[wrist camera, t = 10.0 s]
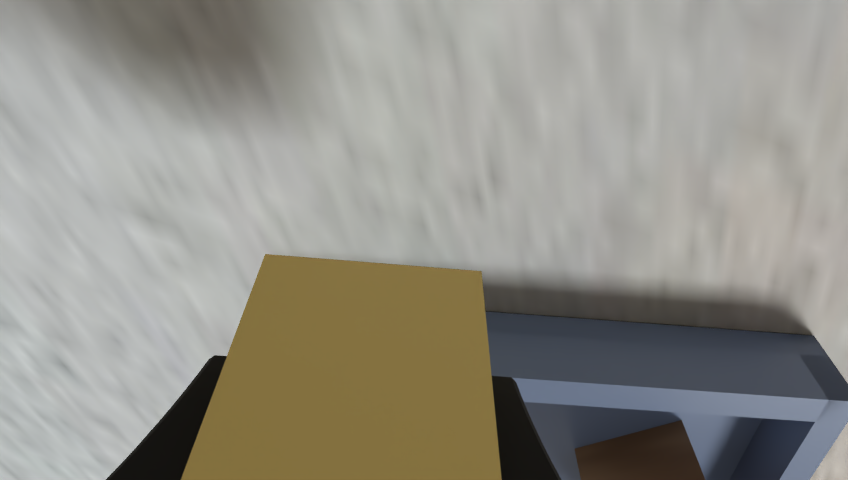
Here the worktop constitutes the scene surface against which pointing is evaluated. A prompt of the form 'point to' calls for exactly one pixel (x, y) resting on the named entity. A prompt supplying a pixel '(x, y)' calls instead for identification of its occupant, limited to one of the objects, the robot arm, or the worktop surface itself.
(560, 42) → the worktop surface
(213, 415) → the mustard block
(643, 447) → the walnut block
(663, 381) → the slate blue tray
